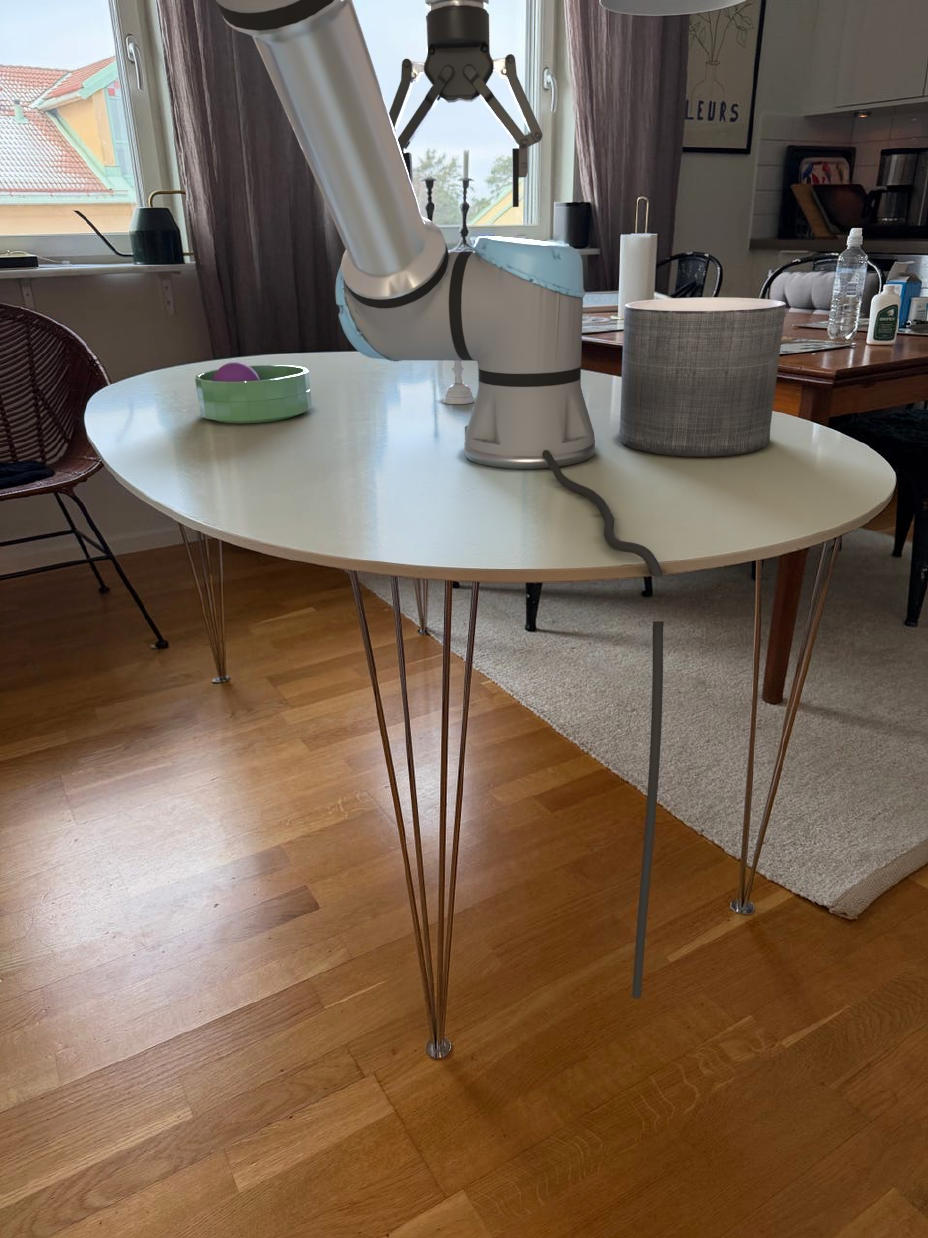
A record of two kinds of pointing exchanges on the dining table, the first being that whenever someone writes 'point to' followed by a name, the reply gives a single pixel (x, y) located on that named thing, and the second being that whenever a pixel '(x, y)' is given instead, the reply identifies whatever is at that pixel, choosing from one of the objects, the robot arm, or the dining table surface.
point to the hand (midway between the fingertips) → (462, 208)
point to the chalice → (458, 388)
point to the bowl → (255, 395)
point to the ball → (235, 373)
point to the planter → (699, 375)
